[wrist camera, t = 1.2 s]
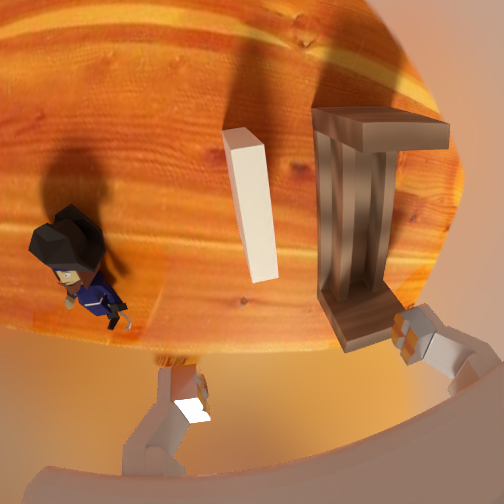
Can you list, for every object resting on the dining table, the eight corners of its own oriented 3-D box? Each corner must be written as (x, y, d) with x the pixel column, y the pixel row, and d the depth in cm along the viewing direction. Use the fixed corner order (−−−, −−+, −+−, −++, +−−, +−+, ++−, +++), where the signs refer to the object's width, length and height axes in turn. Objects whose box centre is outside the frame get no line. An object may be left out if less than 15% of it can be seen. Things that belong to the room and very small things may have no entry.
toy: (70, 323, 29) (4, 236, 18) (92, 282, 33) (43, 189, 22) (132, 345, 28) (71, 252, 17) (152, 298, 32) (113, 195, 21)
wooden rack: (311, 108, 23) (362, 122, 15) (385, 106, 23) (449, 124, 16) (317, 297, 35) (344, 353, 27) (373, 282, 35) (408, 331, 28)
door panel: (221, 130, 23) (230, 150, 16) (245, 126, 23) (264, 144, 16) (239, 232, 28) (252, 283, 22) (259, 228, 29) (278, 277, 22)
